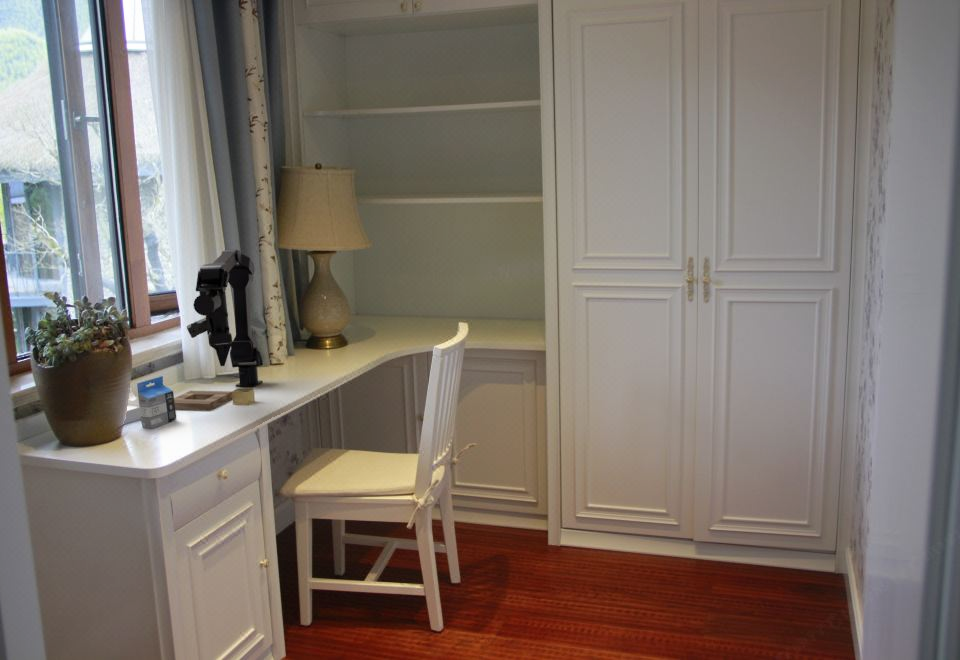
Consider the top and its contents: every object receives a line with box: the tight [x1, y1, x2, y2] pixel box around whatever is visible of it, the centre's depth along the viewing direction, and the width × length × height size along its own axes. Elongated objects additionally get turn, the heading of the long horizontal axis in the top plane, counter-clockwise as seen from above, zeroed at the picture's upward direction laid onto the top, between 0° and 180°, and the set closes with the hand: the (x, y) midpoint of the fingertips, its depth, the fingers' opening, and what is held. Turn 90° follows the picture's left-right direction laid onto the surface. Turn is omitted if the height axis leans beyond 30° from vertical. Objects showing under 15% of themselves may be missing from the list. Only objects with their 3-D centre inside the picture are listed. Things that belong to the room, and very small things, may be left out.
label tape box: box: [136, 375, 177, 429], centre depth 233 cm, size 9×4×12 cm, turn 153°
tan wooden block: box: [231, 387, 256, 406], centre depth 253 cm, size 4×5×4 cm
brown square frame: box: [174, 390, 233, 412], centre depth 254 cm, size 14×14×2 cm
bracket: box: [123, 388, 141, 425], centre depth 238 cm, size 13×7×8 cm, turn 152°
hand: (221, 362), depth 249 cm, fingers open, 9 cm apart
